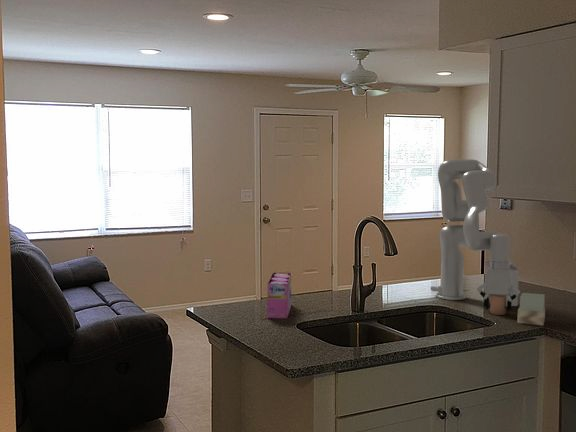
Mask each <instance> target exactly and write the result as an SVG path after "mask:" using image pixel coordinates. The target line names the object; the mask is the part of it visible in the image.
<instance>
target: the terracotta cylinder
mask: <svg viewBox="0 0 576 432" xmlns="http://www.w3.org/2000/svg"><path fill="white" fill-rule="evenodd" d="M506 312H507V307H506V295H494V294H489V314H491V315H496V316H504V315H506Z"/></svg>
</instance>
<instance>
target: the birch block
mask: <svg viewBox="0 0 576 432" xmlns="http://www.w3.org/2000/svg"><path fill="white" fill-rule="evenodd" d="M545 319H546V307H544V310H543V312H535V311H524V310H520V306H519V307H518V309H517V320H516V321H517V324H524V323H525V324H526V325H536V326H544V324H545Z"/></svg>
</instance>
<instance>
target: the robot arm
mask: <svg viewBox="0 0 576 432" xmlns="http://www.w3.org/2000/svg"><path fill="white" fill-rule="evenodd" d="M437 179H438V180H437V181H438V184H439V188H440V198H441V199H440V200H441V201H440V202H441V213H442V214H441V215H442V218H443V220H444V221H445V222H447V223H448V222H449V223H459V222H462V224H450V225H446V226H444V227H442V228H441V229H440V231H439V243H440V250H441V251H440V253H441V254H440V255H441V257H440V285H439V286H432V285H431V286H430V291H431V292H437V293H436V298H439V299H440V300H441V299H442V300H449V301H462V300H465V299H467V294H465V293H464V271H465V270H464V269H465V268H464V266H465V261H464V260H465V258H464V254H463V252H462V249H461V248H462V247H464V248H465V247H468V248H469V249H470V250H471V251H477V252H478V251H489V259H488V261H485V262H484V263H485V266H488V267H487V268H486V270H485V275H484V276H485V277H484V283H482V284H480V285H479V286H478V287H476V290H477V292H478V293H479V294H480V296H481V297H482V298H483V300H484V301H483V302H484V305H483V307H484V308H485V310H488V309H490V295H491V294H494V295H506V297H507V298H508V301H507V307H506V312H508V313H509V312H510V310H512V306H511V304H512V300H513V299H515V298H516V297H517V296H518V297H519V294H520V293H521V290H520V289H519V288H518V289H517V288H516V287H515V286H513V285H512V273H511V269H509V260H510V258H511V257H510V256H511V255H510V253H511V252H510V251H511V237H510V235H509V234H507V233H500V232H498V231H494V230H487V231H485V230H484V231H483V230H482V231H480V216H479V214H480V213H482V212H484V211H486V210H488V209H489V207H490V201H489V198H488V193H487V191H492V190H494V189H495V188H496V186H497V177H496V175H495V173H494V172H493V171H492V169H490V168H489V167H487V165H484V163H482V162H481V161H479V160H477V159H473V158H471V159H469V158H468V159H466V158H464V159H463V158H462V159H461V158H460V159H459V158H458V159H457V158H454V159H447V160H445V161H443V162H442V163H441V164H440V165H439V166H438V171H437ZM456 180H461V184H462V185H461V186H462V188H463V192H464V196H465V199H462V190H461V187H460V185H459V183H458V182H457V181H456ZM483 288H484V289H483ZM483 290H484V291H483ZM512 290H514V291H515V294H514V295H513V296H511V295H510V294H511V292H512ZM520 295H521V294H520Z"/></svg>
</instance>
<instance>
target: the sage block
mask: <svg viewBox="0 0 576 432" xmlns="http://www.w3.org/2000/svg"><path fill="white" fill-rule="evenodd" d="M545 298H546V297H545V294H544V293H542V294H541V293H530V292H521V294H520V297H519V307H520V310H524V311H535V312H543V310H544V308H545Z"/></svg>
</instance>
